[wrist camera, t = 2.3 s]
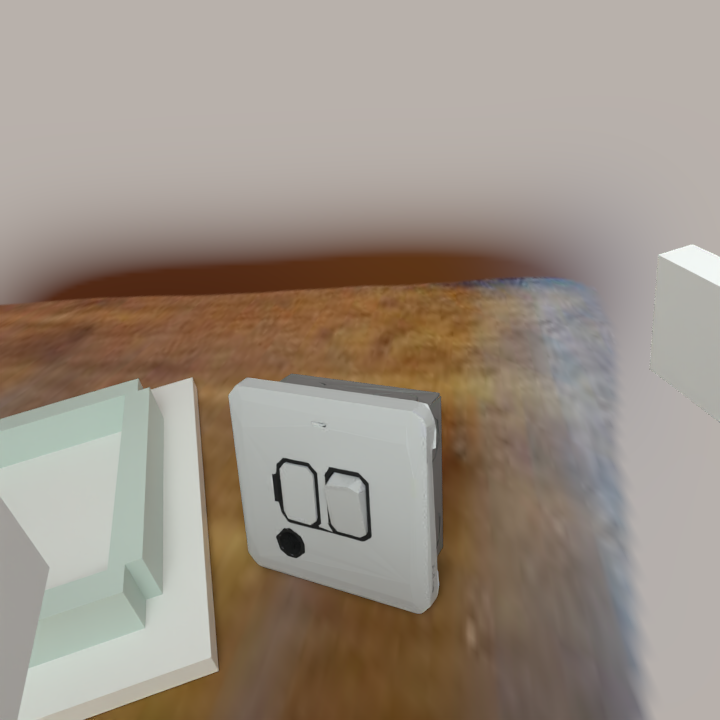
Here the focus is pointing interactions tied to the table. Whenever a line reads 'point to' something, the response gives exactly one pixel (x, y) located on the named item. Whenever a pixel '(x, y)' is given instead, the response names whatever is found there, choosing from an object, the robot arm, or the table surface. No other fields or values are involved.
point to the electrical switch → (343, 484)
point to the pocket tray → (113, 545)
